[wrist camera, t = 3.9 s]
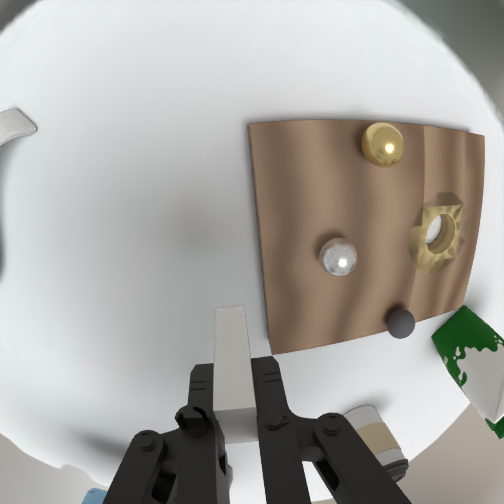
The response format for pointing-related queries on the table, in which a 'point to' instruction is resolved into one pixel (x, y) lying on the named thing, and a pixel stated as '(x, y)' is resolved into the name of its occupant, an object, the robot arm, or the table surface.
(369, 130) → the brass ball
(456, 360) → the milk carton
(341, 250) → the steel ball
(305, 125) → the board
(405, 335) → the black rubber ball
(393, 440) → the coffee cup
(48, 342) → the table surface
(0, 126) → the white curved piece
